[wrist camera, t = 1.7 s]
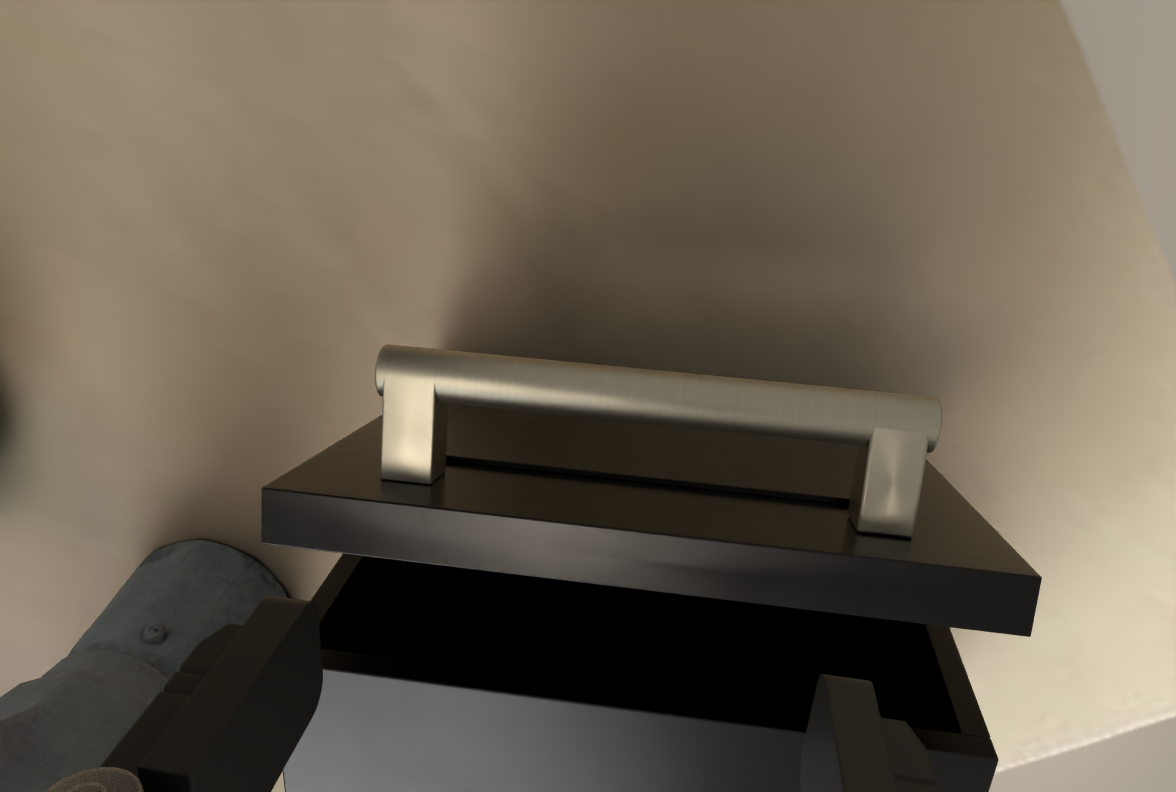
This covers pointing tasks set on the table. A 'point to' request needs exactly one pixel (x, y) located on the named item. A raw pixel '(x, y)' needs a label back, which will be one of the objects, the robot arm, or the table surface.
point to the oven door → (658, 489)
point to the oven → (601, 687)
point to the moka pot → (125, 661)
